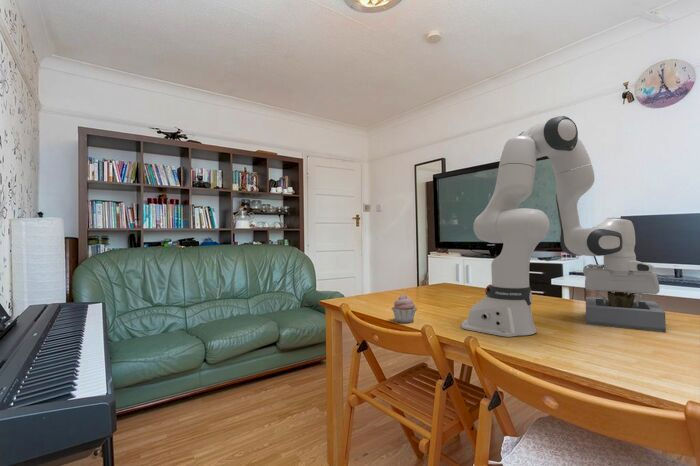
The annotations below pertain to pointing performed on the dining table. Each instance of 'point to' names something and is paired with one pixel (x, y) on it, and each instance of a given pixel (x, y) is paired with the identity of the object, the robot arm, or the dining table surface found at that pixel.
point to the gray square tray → (626, 315)
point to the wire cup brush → (620, 299)
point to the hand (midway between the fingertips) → (620, 305)
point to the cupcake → (404, 309)
